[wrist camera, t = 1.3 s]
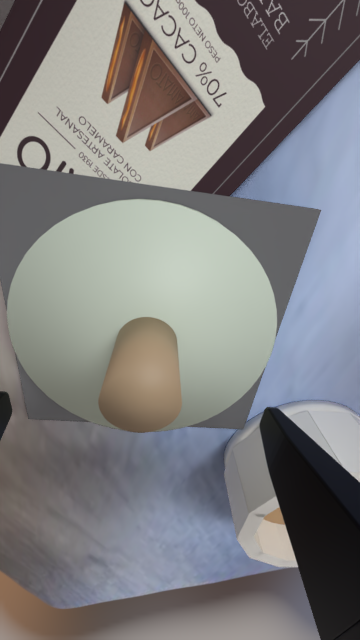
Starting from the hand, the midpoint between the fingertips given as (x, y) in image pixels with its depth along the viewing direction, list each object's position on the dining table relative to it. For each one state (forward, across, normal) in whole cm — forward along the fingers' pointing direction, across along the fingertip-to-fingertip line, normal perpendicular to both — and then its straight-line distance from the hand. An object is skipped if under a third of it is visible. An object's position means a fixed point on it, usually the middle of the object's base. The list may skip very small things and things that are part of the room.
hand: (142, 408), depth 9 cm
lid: (+5, 0, 0) cm, 5 cm away
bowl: (+6, -12, +10) cm, 17 cm away
